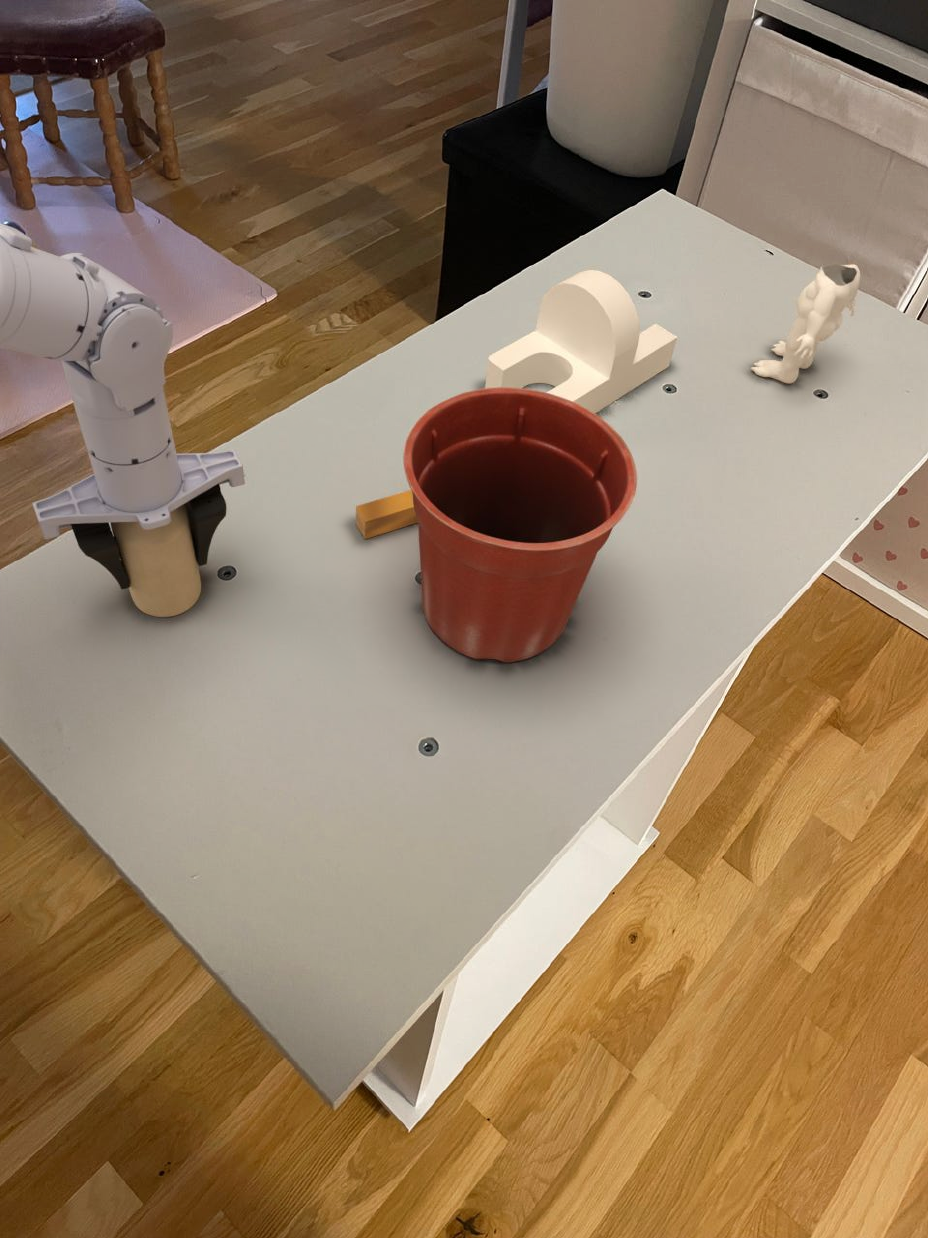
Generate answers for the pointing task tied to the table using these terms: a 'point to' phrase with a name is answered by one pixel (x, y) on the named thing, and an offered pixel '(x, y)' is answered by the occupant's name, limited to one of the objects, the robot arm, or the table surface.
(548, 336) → the block with arch cutout
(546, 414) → the flower pot
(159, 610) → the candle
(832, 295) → the toy creature
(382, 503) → the fry stick
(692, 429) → the table surface
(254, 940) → the table surface
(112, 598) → the table surface
